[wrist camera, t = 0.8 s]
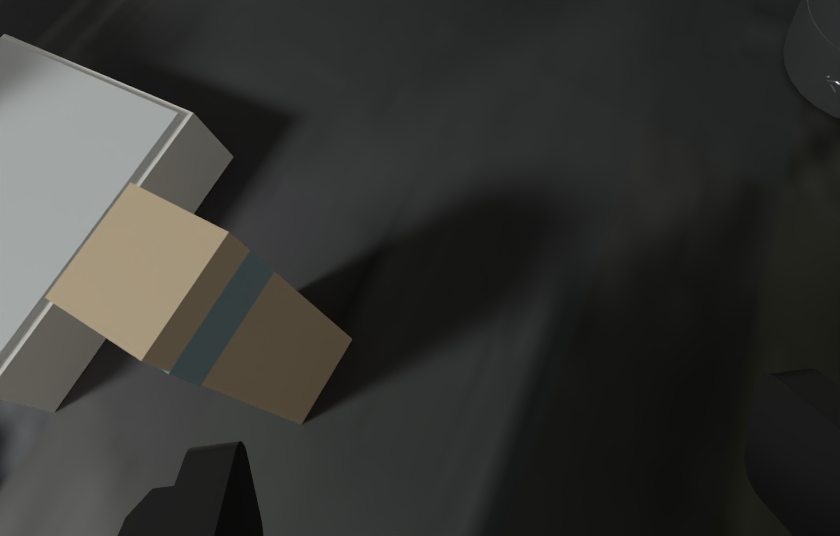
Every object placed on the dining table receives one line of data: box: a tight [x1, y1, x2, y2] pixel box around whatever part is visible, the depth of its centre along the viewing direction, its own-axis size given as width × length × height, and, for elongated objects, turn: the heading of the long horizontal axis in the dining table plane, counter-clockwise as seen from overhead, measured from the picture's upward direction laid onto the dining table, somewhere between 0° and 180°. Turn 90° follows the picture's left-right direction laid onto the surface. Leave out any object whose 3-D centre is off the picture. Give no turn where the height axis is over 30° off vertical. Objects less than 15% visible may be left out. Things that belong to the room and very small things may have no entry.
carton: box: [45, 182, 352, 425], centre depth 27 cm, size 5×5×13 cm
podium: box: [0, 34, 233, 412], centre depth 39 cm, size 18×18×5 cm
